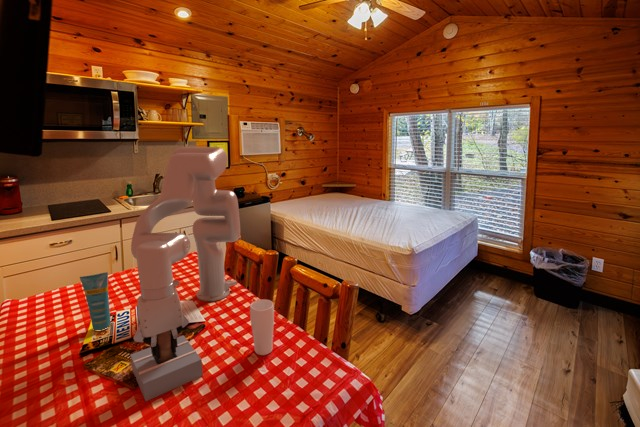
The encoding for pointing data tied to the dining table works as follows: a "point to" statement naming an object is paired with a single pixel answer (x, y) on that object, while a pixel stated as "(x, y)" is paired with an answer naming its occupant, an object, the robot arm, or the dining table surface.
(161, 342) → the walnut peg
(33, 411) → the dining table surface
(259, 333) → the drinking glass
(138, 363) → the socket block
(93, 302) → the tube
